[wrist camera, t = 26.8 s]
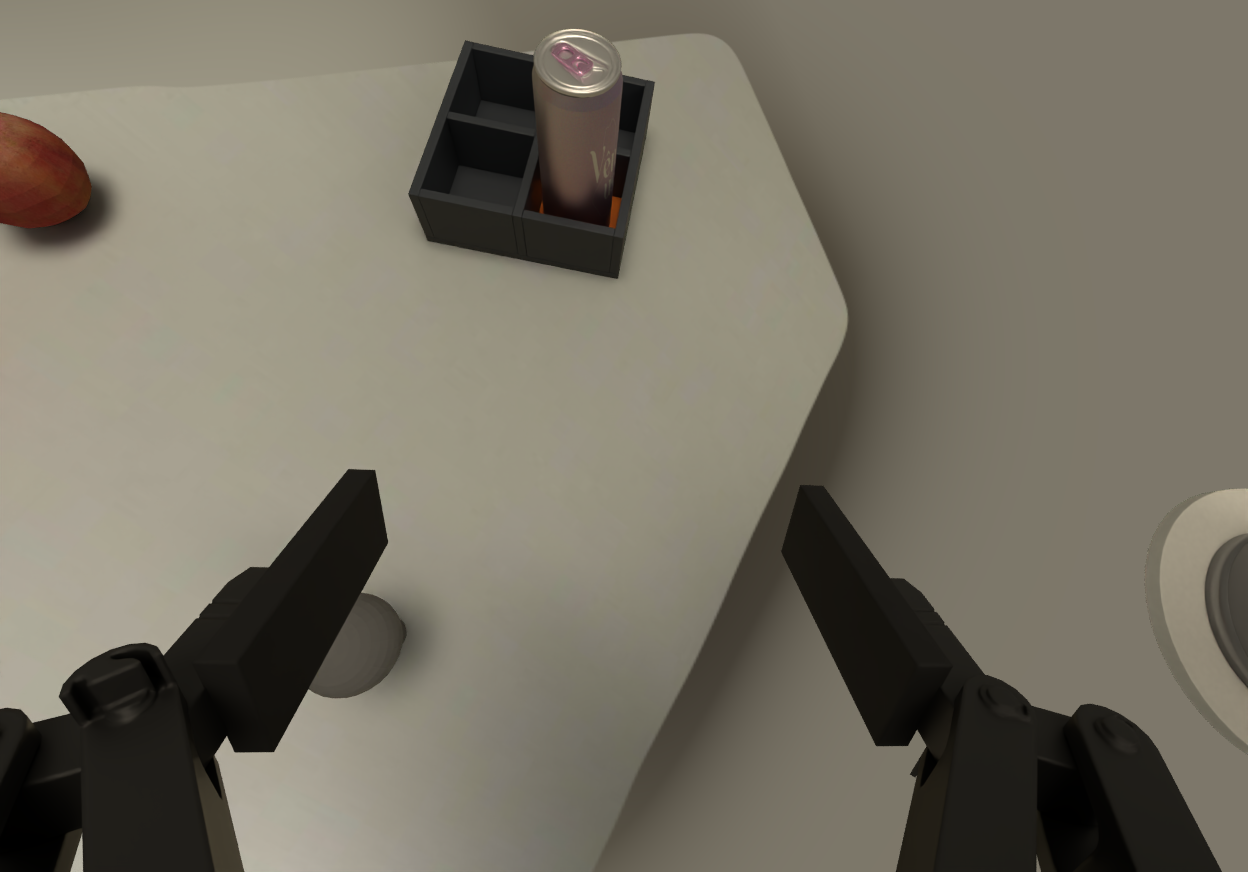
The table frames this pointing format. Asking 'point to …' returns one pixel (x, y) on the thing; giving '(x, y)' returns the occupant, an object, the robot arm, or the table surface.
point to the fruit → (38, 176)
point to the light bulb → (361, 650)
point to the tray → (516, 169)
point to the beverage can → (577, 123)
